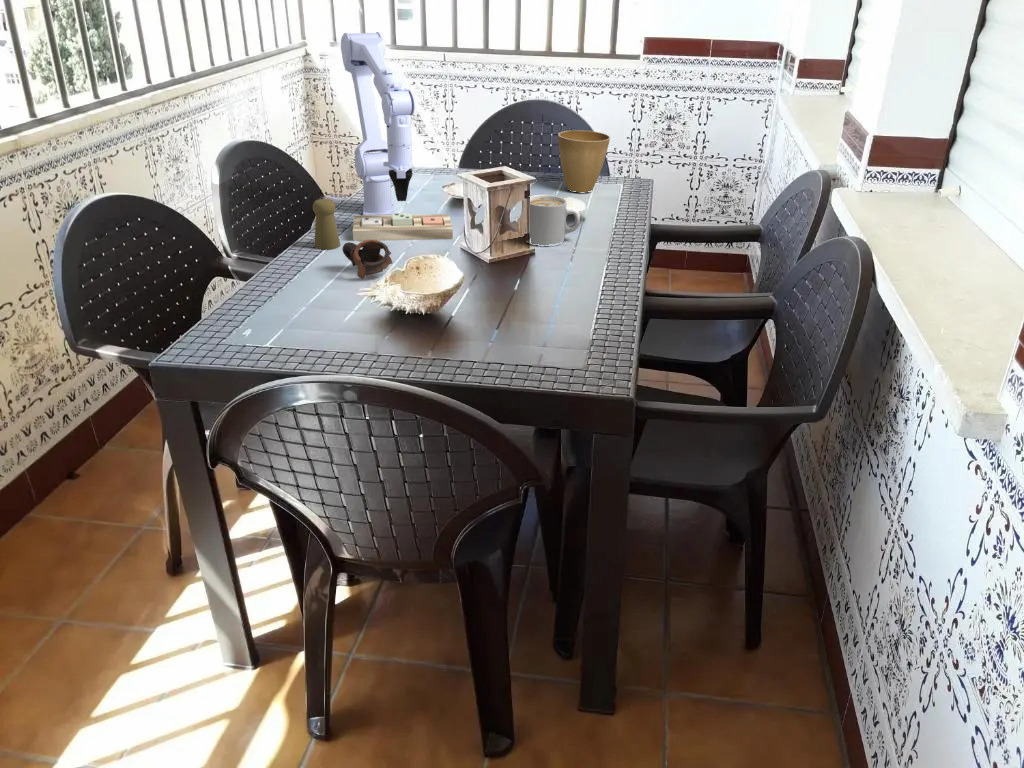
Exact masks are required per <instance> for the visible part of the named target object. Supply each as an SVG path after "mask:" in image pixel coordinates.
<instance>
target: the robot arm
mask: <svg viewBox="0 0 1024 768" xmlns="http://www.w3.org/2000/svg"><path fill="white" fill-rule="evenodd" d="M340 52H341V57H342V63H343V64H342V65H343V67H344V70H345V71H347V72H348V73H350V75H351V77H352V79H351V80H352V82H353V86H354V87H353V88H354V93H355V100H356V104H357V111H358V117H359V123H360V128H361V135H362V142H361V143H360V142H359V144H358V145H357V147H356V148H355V149H354V167H355V172H356V175H357V177H359V179H362V186H363V187H362V188H363V189H362V190H363V203H364V204H363V208H362V209H363V210H362V215H392V214H393V213H395V212H394V210H395V209H394V203H393V202H392V201H393V199H392V186H393V188H394V192H395V197H396V200H397V202H406V201H407V199H408V198H407V197H408V191H409V186H410V181H411V180H412V177H413V175H414V173H413V168H412V167H414V162H413V147H412V116H413V115H414V114H415V113H414V112H415V109H416V108H415V106H416V105H415V98H414V95H413V92H412V90H411V89H409V88H408V89H407V87H403V85H402V83H401V81H400V78H399V77H398V76H397V73H396V72H395V70H393V69H391V68H389V66H388V64H387V61H386V59H385V54H386V53H385V52H386V42H385V38H384V36H383V35H382V33H381V32H379V31H376V32H361V33H360V32H358V33H356V32H355V33H354V32H353V33H351V32H350V33H349V32H344V33H343V34H342V36H341V39H340ZM372 75H374V76H373V77H372ZM375 89H376V91H377V93H378V95H379V97H380V98H381V108H382V113H383V120H384V124H385V125H386V126H385V127H386V140H385V139H383V138H382V130H381V123H380V120H379V119H380V118H379V112H378V106H377V101H376V100H377V99H376V96H375V95H376V94H375ZM392 184H393V185H392Z"/></svg>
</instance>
